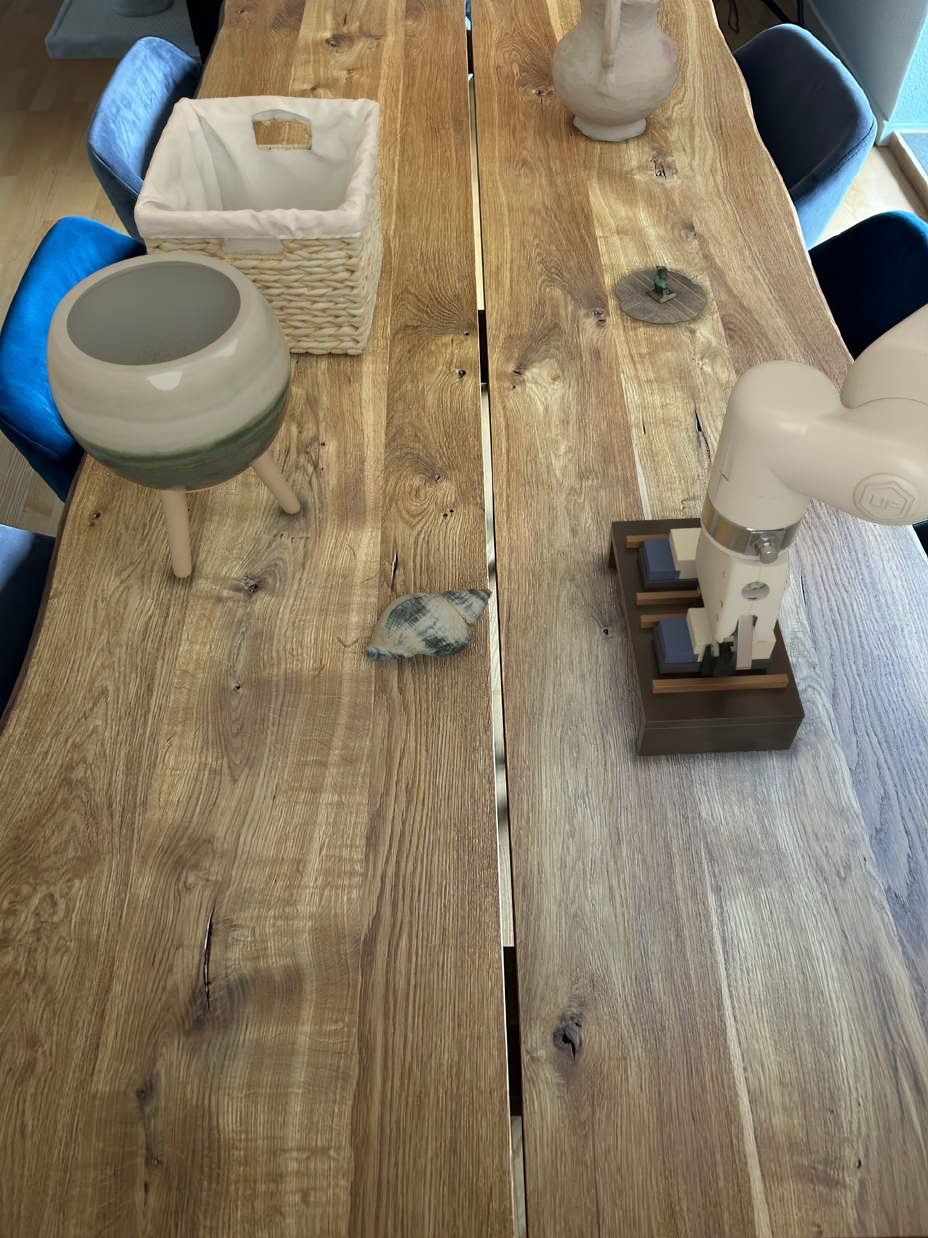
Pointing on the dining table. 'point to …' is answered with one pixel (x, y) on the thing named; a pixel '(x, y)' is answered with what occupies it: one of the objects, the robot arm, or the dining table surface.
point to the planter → (173, 379)
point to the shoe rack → (687, 702)
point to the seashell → (427, 624)
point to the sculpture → (660, 296)
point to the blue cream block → (697, 644)
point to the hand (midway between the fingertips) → (712, 648)
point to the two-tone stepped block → (670, 561)
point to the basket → (277, 208)
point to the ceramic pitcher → (614, 68)
